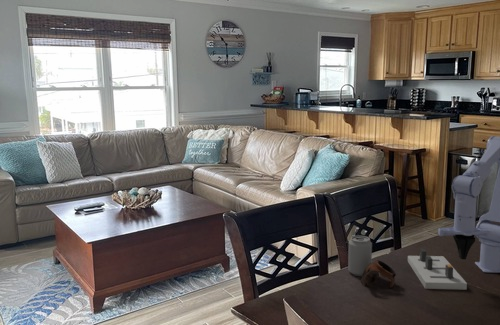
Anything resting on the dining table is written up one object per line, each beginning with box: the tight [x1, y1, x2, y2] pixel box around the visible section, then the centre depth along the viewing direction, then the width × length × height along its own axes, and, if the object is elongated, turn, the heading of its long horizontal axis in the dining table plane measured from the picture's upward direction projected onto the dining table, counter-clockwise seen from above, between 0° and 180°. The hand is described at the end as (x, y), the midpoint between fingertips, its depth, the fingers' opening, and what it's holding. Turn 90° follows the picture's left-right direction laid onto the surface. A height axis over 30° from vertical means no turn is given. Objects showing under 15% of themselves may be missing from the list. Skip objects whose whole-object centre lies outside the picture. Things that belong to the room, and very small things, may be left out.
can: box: [347, 235, 373, 277], centre depth 146 cm, size 8×8×12 cm
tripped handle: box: [445, 263, 454, 278], centre depth 137 cm, size 1×3×4 cm, turn 174°
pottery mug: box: [360, 259, 397, 288], centre depth 137 cm, size 12×10×8 cm
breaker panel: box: [407, 248, 468, 291], centre depth 144 cm, size 12×22×6 cm, turn 174°
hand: (462, 258), depth 136 cm, fingers closed
